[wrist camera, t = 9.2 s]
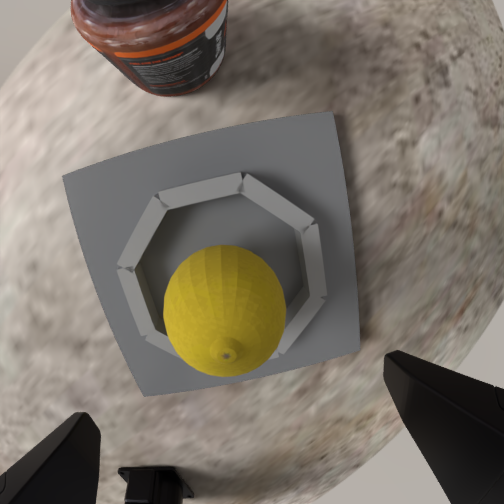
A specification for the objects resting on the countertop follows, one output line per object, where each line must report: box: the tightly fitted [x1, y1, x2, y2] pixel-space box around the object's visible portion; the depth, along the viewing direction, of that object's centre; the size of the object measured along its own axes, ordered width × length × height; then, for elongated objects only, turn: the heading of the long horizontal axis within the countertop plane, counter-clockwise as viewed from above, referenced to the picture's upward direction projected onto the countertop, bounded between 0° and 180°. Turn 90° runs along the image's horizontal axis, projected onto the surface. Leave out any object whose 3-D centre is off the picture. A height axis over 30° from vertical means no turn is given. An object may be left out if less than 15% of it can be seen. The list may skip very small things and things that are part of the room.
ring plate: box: [62, 111, 360, 397], centre depth 18 cm, size 16×16×3 cm
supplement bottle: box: [71, 0, 228, 97], centre depth 10 cm, size 6×6×11 cm
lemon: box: [163, 245, 286, 377], centre depth 14 cm, size 6×6×8 cm
